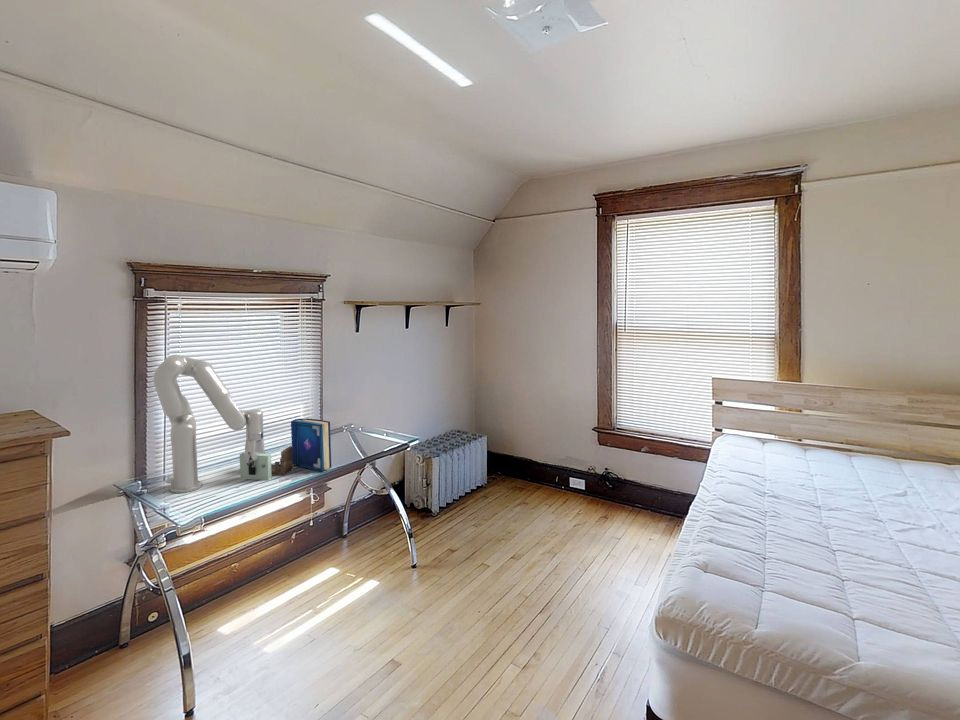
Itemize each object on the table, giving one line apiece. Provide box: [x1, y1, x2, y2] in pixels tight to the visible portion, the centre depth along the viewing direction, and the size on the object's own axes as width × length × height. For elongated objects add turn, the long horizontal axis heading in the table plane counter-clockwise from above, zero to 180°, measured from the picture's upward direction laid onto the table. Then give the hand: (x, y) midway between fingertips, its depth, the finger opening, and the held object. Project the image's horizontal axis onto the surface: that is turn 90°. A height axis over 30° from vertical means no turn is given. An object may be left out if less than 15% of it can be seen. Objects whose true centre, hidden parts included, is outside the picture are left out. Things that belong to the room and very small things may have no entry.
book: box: [290, 418, 332, 472], centre depth 249 cm, size 22×7×25 cm, turn 67°
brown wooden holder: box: [271, 445, 294, 476], centre depth 242 cm, size 19×9×12 cm, turn 86°
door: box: [239, 452, 273, 481], centre depth 232 cm, size 14×4×12 cm, turn 86°
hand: (255, 471), depth 233 cm, fingers open, 5 cm apart
